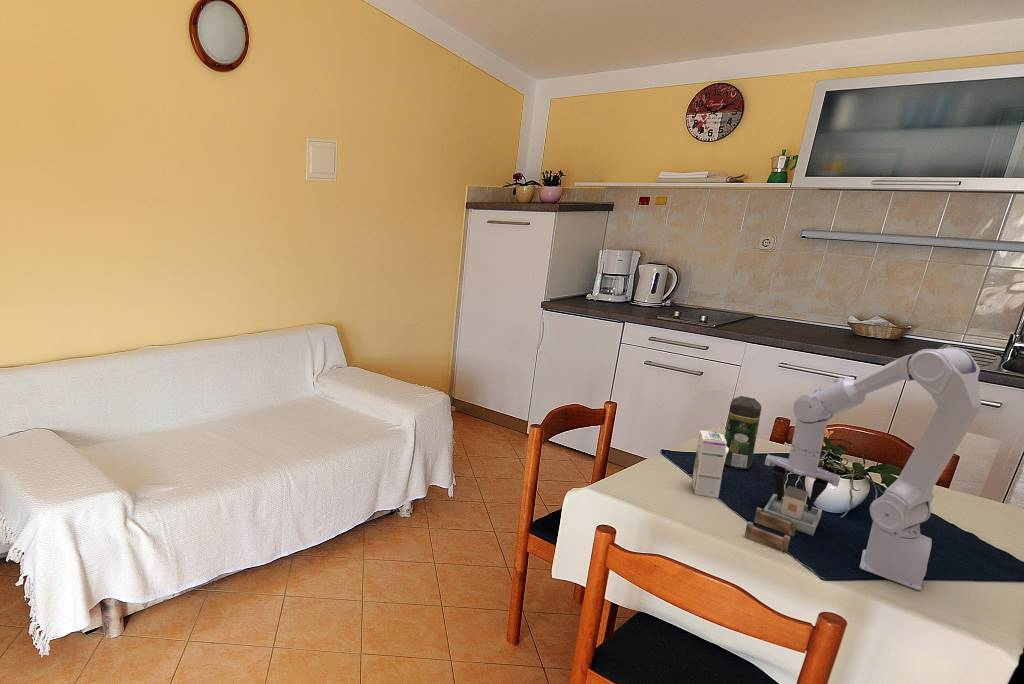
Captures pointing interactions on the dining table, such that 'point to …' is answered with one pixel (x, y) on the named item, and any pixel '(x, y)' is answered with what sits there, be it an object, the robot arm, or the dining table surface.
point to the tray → (805, 525)
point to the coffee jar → (742, 431)
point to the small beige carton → (794, 503)
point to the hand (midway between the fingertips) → (794, 504)
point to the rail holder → (768, 537)
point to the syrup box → (709, 463)
